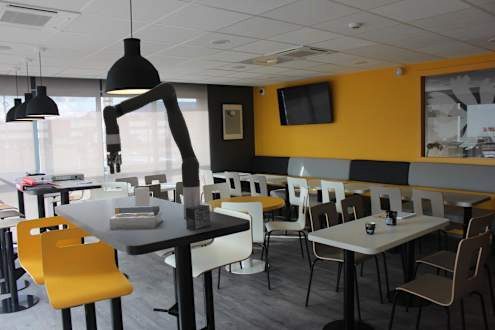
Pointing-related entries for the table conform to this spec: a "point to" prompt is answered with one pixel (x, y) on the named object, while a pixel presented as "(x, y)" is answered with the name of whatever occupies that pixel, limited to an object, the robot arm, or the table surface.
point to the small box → (198, 217)
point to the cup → (142, 196)
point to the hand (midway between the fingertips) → (115, 173)
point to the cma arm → (137, 209)
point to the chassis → (135, 220)
